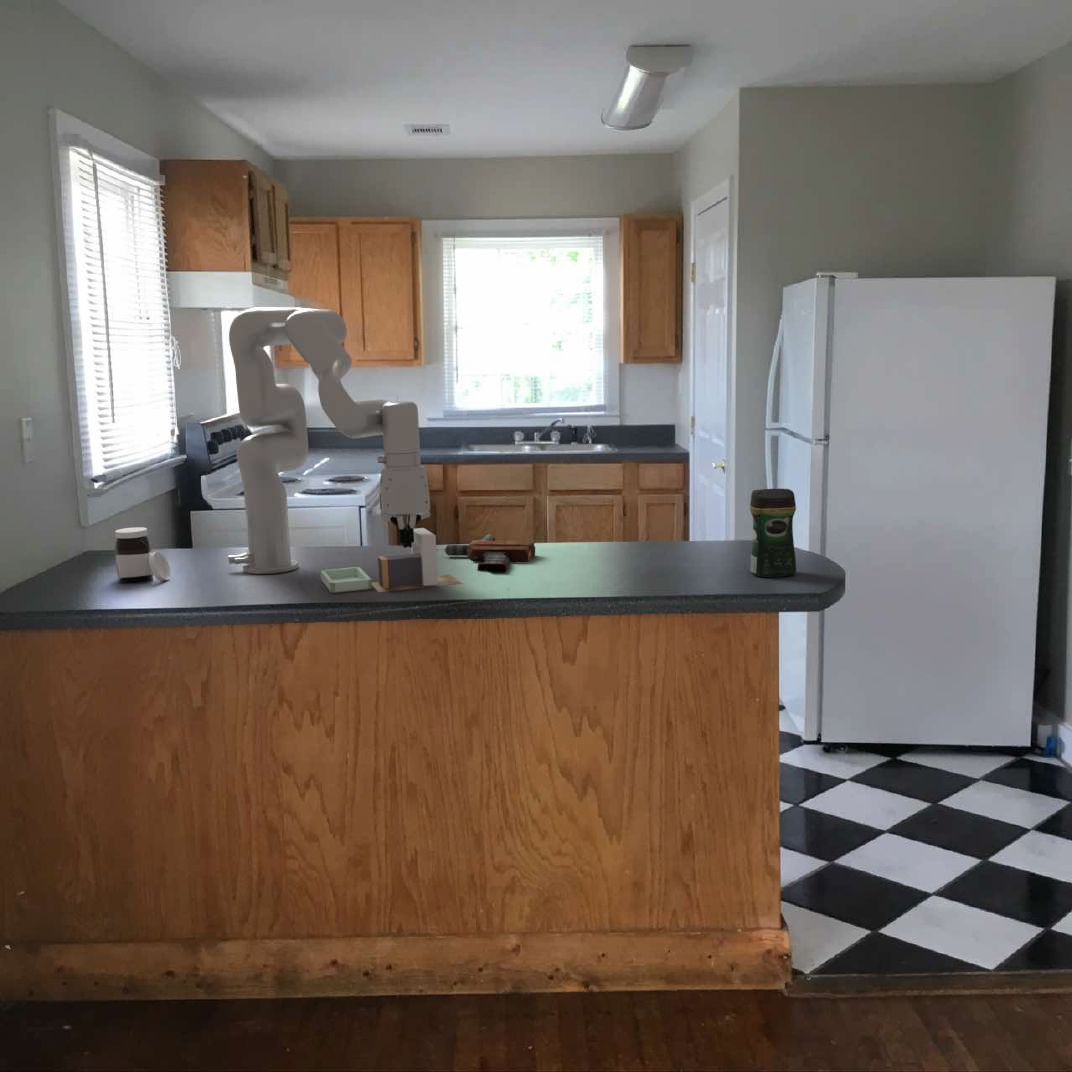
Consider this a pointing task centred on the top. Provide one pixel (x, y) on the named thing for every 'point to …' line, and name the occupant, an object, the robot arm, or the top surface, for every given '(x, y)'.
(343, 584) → the tray
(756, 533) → the coffee jar
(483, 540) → the tool
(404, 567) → the block
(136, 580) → the spread jar
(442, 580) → the holder
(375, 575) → the top surface
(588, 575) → the top surface
